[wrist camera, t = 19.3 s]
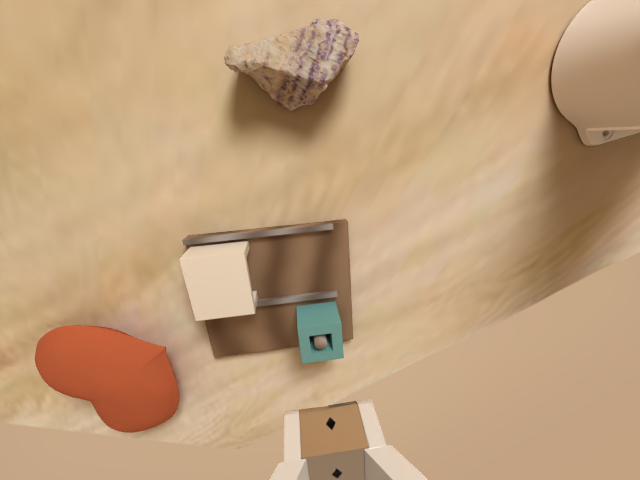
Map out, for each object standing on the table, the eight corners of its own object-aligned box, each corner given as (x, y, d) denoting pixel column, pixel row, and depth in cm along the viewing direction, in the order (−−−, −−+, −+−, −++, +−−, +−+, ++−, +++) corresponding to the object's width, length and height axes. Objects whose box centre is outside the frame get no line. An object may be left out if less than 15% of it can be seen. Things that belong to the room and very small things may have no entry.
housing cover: (248, 240, 37) (244, 252, 33) (257, 297, 39) (255, 313, 36) (189, 247, 36) (179, 259, 32) (203, 303, 39) (195, 321, 35)
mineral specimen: (250, 122, 34) (242, 120, 28) (227, 50, 31) (214, 32, 25) (358, 93, 34) (373, 86, 28) (345, 20, 31) (359, -6, 25)
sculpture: (210, 413, 38) (127, 459, 41) (223, 373, 44) (149, 415, 47) (85, 310, 32) (-6, 372, 34) (119, 279, 37) (40, 334, 40)
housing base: (346, 218, 38) (356, 234, 33) (351, 333, 45) (361, 363, 39) (187, 234, 37) (169, 254, 31) (216, 351, 43) (205, 385, 38)
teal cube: (335, 301, 41) (341, 323, 36) (337, 333, 43) (343, 358, 38) (296, 306, 41) (297, 328, 36) (300, 338, 43) (301, 363, 38)
